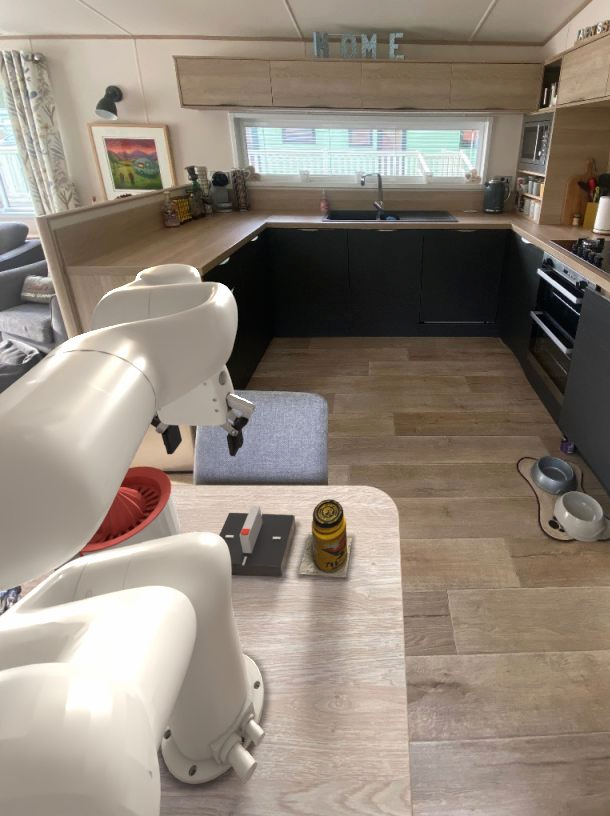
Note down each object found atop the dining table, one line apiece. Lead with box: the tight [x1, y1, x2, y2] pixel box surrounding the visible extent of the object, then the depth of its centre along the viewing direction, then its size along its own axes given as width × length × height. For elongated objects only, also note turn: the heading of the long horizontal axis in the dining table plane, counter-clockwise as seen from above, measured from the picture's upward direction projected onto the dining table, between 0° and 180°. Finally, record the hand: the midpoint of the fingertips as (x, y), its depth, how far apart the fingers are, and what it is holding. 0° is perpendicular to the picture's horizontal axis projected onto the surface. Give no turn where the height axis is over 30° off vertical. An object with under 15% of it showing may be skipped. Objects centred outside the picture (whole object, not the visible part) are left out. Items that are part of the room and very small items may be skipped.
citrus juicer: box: [53, 465, 182, 572], centre depth 64 cm, size 16×17×20 cm
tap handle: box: [240, 505, 263, 553], centre depth 71 cm, size 6×2×5 cm, turn 178°
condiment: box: [298, 498, 353, 578], centre depth 69 cm, size 7×8×12 cm
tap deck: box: [218, 512, 297, 578], centre depth 72 cm, size 13×10×3 cm
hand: (205, 448), depth 61 cm, fingers open, 9 cm apart
